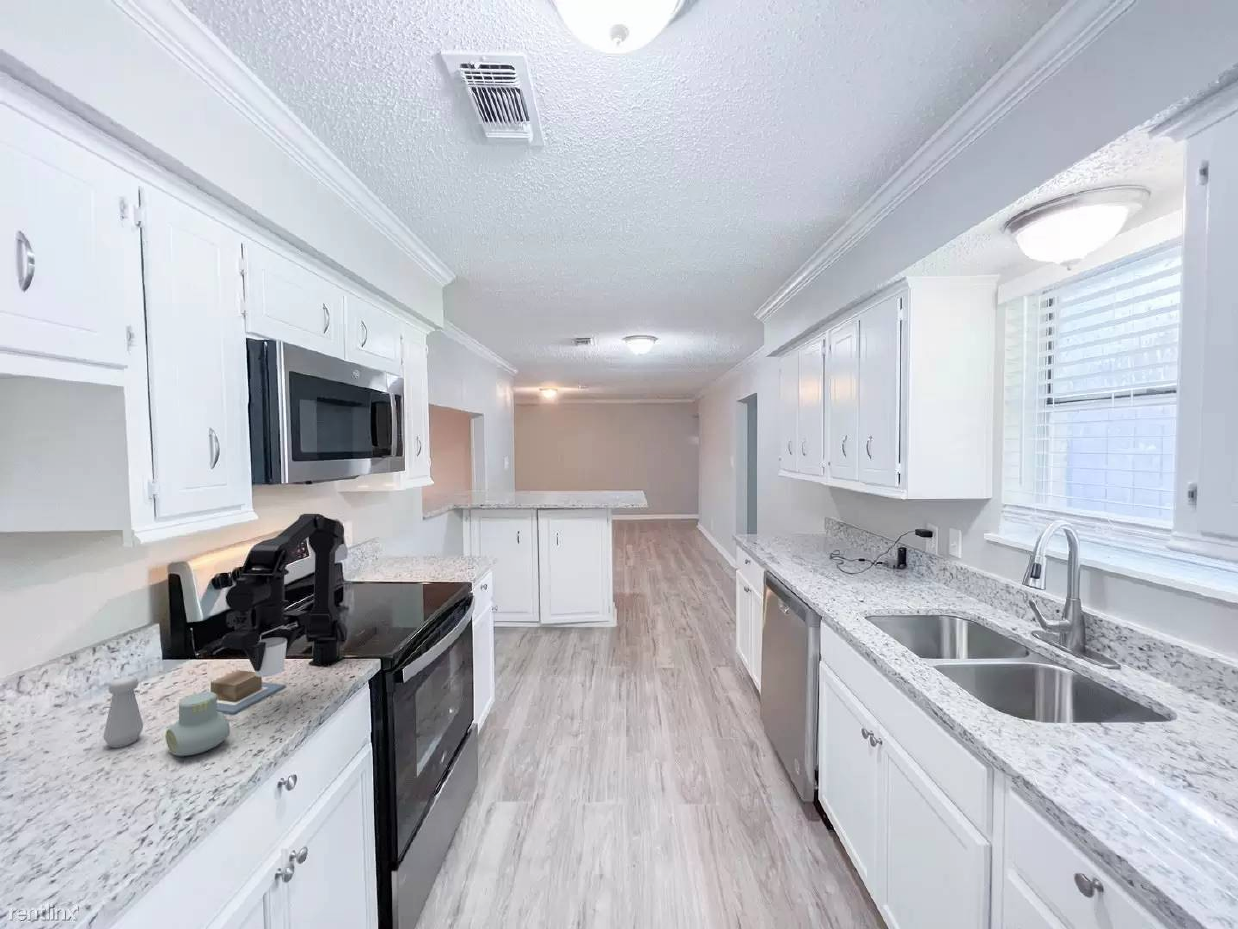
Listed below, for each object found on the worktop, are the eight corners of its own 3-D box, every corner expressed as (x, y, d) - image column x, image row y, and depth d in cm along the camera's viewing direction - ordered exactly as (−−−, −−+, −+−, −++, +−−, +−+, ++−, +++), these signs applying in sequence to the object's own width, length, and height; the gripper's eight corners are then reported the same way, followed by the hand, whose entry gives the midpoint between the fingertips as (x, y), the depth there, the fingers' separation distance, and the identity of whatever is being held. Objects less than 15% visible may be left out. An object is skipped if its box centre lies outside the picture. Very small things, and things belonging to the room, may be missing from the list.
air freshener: (162, 747, 103) (162, 698, 103) (213, 730, 110) (213, 683, 110) (181, 767, 97) (181, 714, 97) (233, 747, 104) (233, 698, 103)
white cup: (247, 680, 115) (248, 649, 115) (255, 668, 122) (255, 638, 121) (284, 675, 118) (284, 645, 118) (289, 664, 124) (289, 635, 124)
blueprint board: (239, 681, 133) (239, 678, 133) (285, 687, 130) (285, 684, 130) (183, 707, 119) (183, 704, 119) (233, 714, 116) (233, 711, 116)
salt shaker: (98, 745, 103) (98, 680, 103) (135, 731, 108) (135, 670, 108) (111, 753, 101) (110, 687, 100) (148, 739, 106) (148, 676, 105)
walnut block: (261, 689, 127) (261, 673, 127) (235, 702, 120) (235, 685, 120) (238, 686, 128) (238, 670, 128) (210, 699, 122) (210, 682, 122)
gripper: (274, 585, 130) (274, 647, 131) (200, 607, 112) (201, 678, 112) (312, 588, 128) (312, 651, 128) (243, 611, 110) (243, 684, 110)
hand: (269, 665), depth 120 cm, fingers closed on white cup, 6 cm apart
